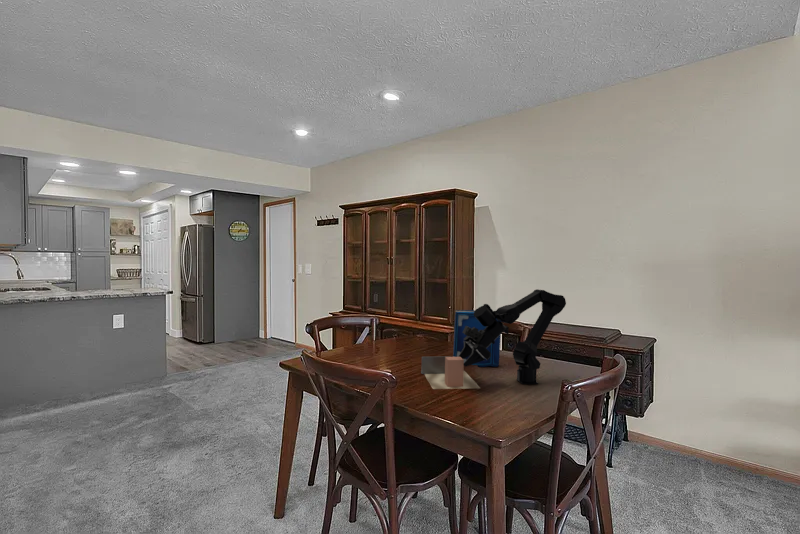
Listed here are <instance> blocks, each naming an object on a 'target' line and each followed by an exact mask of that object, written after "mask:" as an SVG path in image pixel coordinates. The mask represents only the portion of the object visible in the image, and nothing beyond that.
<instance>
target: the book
mask: <svg viewBox="0 0 800 534" xmlns="http://www.w3.org/2000/svg"><path fill="white" fill-rule="evenodd" d="M475 310H476V309H475ZM475 310H473V309H455V310H454V329H453V347H452V357H458V356H459V355H460V353H461V351H462V349H463V347H464V342H463V341H465V340H464V338H465V337H466V336H467V335H465V334H464V333H462V332H463V330H464V328H465V326H468V327H470V328H473V327H475V328H477V329H478V331H479V330H481V329H482V330H484V329H485V328H486V327H487V326H483V325H482V324H481V323H480V322H479V321H478V320H477V319H476V317H475V316H474V312H475ZM496 320H497V319H496ZM497 321H498V320H497ZM501 335H502V333H501V334H500V335H499V336H498V337H497V338H496V339H495V340H494V341H495V343H494V344H492V343H491V344H490V345H489V346H488V347H487V348H486V349H487V350H488V351H489V352H490V353H491V357H490V358H489V359H488V360H486V359H485V358H484V359H485V361H480V362H477V363H474V364H472V365H471V366H477V367H478V368H485V367H499V365H500V353H501V352H500V349H501ZM465 342H466V341H465ZM468 357H469V356H468ZM468 357H466V358H464V359H463V360H464V363H465V361H466V360H467V359H468Z"/></svg>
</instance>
